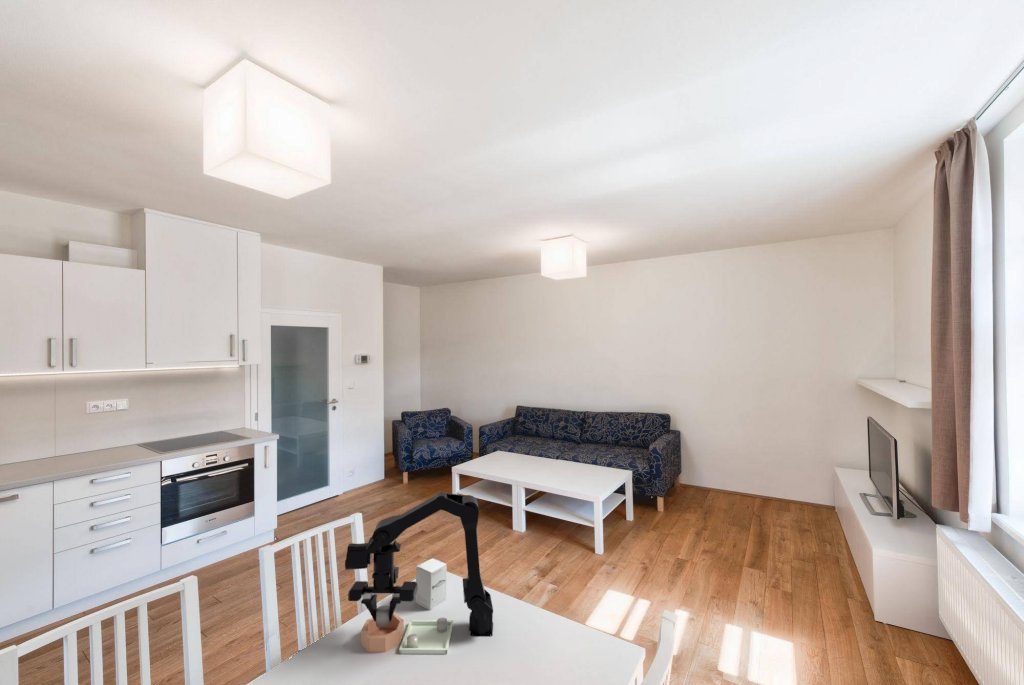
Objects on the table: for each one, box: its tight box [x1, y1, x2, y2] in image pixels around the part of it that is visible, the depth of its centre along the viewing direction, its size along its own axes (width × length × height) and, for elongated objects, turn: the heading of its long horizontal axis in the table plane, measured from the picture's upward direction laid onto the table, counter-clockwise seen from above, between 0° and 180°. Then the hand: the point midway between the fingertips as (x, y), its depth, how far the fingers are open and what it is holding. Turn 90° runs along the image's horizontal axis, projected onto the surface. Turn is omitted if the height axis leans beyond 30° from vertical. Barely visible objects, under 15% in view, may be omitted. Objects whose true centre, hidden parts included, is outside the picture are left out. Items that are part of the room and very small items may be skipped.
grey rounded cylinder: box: [376, 604, 390, 628], centre depth 124 cm, size 4×4×4 cm
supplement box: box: [415, 557, 448, 611], centre depth 142 cm, size 7×7×13 cm
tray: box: [398, 619, 454, 655], centre depth 124 cm, size 13×13×2 cm
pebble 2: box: [436, 617, 448, 633], centre depth 128 cm, size 3×3×3 cm
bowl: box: [360, 613, 405, 653], centre depth 124 cm, size 11×11×4 cm
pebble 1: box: [407, 634, 418, 648], centre depth 120 cm, size 3×3×3 cm
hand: (383, 620), depth 124 cm, fingers closed on grey rounded cylinder, 4 cm apart
